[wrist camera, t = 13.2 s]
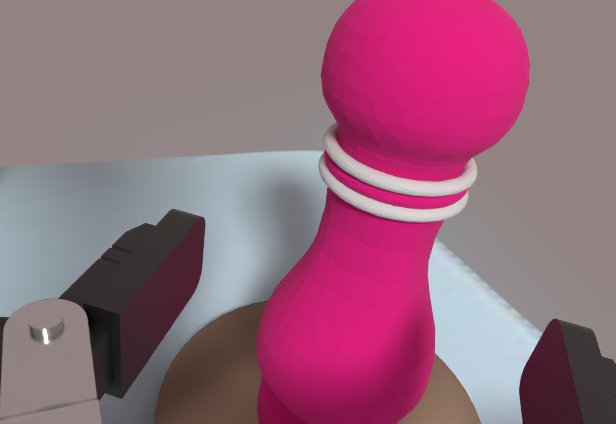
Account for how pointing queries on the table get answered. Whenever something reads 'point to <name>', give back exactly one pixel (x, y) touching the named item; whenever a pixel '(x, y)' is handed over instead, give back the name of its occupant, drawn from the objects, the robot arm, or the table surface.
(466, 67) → the pepper mill
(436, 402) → the walnut board
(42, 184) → the table surface
